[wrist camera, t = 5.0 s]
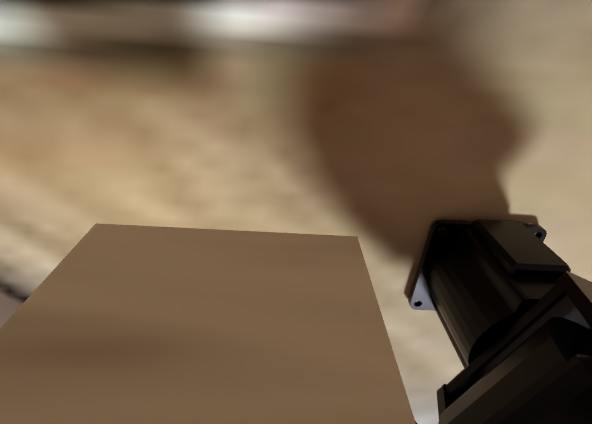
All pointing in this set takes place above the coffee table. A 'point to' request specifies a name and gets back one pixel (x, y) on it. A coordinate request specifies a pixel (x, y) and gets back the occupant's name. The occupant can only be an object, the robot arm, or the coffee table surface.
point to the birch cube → (202, 333)
